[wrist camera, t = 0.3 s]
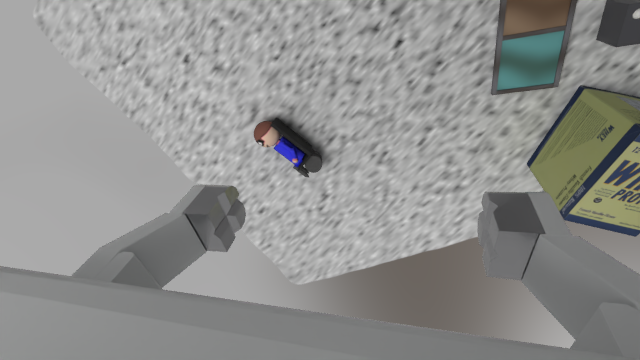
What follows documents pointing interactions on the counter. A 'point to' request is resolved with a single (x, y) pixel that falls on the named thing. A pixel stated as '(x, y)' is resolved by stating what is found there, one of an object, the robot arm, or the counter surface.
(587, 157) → the protein box
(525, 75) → the board
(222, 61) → the counter surface
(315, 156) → the character figurine
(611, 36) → the die
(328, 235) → the counter surface
